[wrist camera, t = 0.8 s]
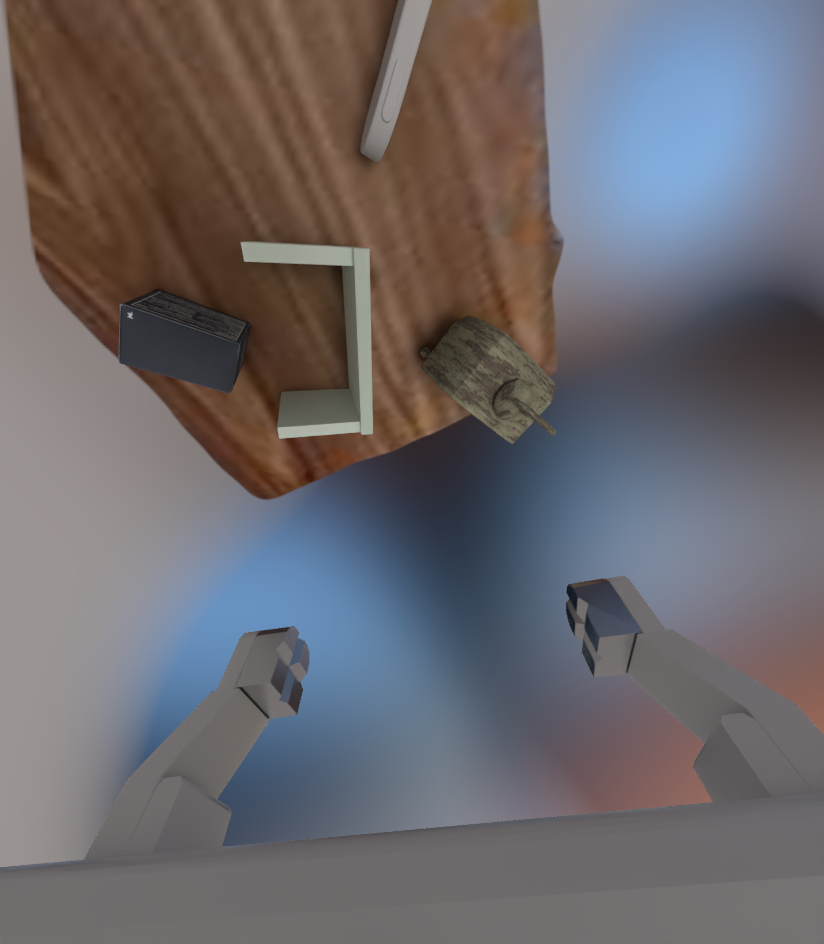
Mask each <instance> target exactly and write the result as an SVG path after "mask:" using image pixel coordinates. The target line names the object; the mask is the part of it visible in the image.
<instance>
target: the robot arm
mask: <svg viewBox="0 0 824 944" xmlns="http://www.w3.org/2000/svg"><path fill="white" fill-rule="evenodd" d="M567 595H568V597H569V600H568V601H567V602H566V613H567V618H568V622H569V625H570V627H571V630H572V632H573V634H574V636H575V637H576V638H577V639H579V640H580V641H581V642H583V645H582V654H583V656H584V658H585V660H586V662H587V664H588V666H589V668H590V671H591V673H592V674H593V677H599V676H610V675H619V674H627V676H628V677H629V678H630V679H631V680H633V681H634V682H635V683H636V684H637V685H638V686H639V687H641V688H642V689H643V690H644V691H645V692H646V693H647V694H649V695H650V696H651V697H652V698H653V699H654V700H655V701H657V702H658V703H659V704H660V705H661V706H662V707H663V708H665V709H666V710H667V711H668V712H669V713H670V714H671V715H672V716H674V717H675V718H676V719H677V720H678V721H679V722H681V723H682V724H683V725H684V726H685V727H686V728H687V729H688V730H690V731H691V732H692V733H693V734H694V735H696V736H697V737H698V738H699V739H700V740H701V741H702V742H703V743H704V746H703V748H702V749H701V751H700V753H699V754H698V756H697V758H696V760H695V762H694V765H693V768H694V770H695V771H696V773H697V775H698V777H699V778H700V780H701V782H702V784H703V785H704V787H705V789H706V791H707V792H708V794H709V796H710V797H711V799H712V801H713V802H711V803H699V804H689V805H677V806H666V807H656V808H645V809H633V810H623V811H612V812H601V813H590V814H579V815H568V816H557V817H546V818H535V819H524V820H513V821H504V822H503V821H502V822H492V823H480V824H469V825H458V826H447V827H436V828H426V829H415V830H404V831H393V832H382V833H371V834H361V835H349V836H338V837H328V838H316V839H305V840H295V841H283V842H272V843H262V844H250V845H240V846H229V847H222V843H223V840H224V837H225V834H226V830H227V827H228V823H229V820H230V817H231V814H232V813H231V810H230V808H229V807H228V806H226V805H225V804H223V803H222V802H220V801H218V800H217V798H218V796H219V795H220V794H221V792H222V790H223V789H224V787H225V786H226V785H227V783H228V782H229V780H230V779H231V777H232V776H233V774H234V773H235V771H236V770H237V768H238V767H239V765H240V764H241V762H242V761H243V759H244V758H245V756H246V755H247V753H248V752H249V751H250V749H251V748H252V746H253V745H254V743H255V741H256V740H257V739H258V737H259V736H260V734H261V733H262V731H263V730H264V728H265V727H266V725H267V724H268V722H269V719H272V718H278V717H285V716H291V715H297V713H298V709H299V704H300V700H301V696H302V692H303V688H302V685H301V683H300V681H301V680H302V679H303V678H304V676H305V675H306V674H307V671H308V666H309V650H308V646H307V644H306V643H305V641H303V640H301V639H299V638H298V634H299V632H298V630H297V629H296V628H295V627H294V626H293V627H286V628H278V629H271V630H263V631H262V630H261V631H255V632H248V633H245V634H244V635H243V636H242V637H241V638H240V639H239V642H238V644H237V646H236V648H235V651H234V653H233V655H232V657H231V660H230V662H229V664H228V666H227V669H226V671H225V673H224V675H223V678H222V680H221V682H220V685H219V687H218V689H217V691H214V692H211V693H210V694H209V695H208V696H207V697H206V698H205V699H204V700H203V701H202V702H201V704H200V705H199V706H198V707H197V708H196V709H195V710H194V711H193V712H192V713H191V714H190V715H189V716H188V717H187V718H186V719H185V720H184V721H183V722H182V723H181V724H180V725H179V726H178V728H176V730H175V731H174V732H173V733H172V734H171V735H170V736H169V737H168V738H167V739H166V740H165V741H164V742H163V743H162V744H161V745H160V746H159V747H158V748H157V749H156V750H155V751H154V752H153V753H152V754H151V756H150V757H149V758H148V759H147V760H146V761H145V762H144V763H143V764H142V765H141V766H140V767H139V768H138V769H137V770H136V771H135V772H134V773H133V774H132V775H131V776H130V777H129V778H128V779H127V781H126V783H125V784H124V787H123V788H122V790H121V792H120V794H119V796H118V797H117V799H116V801H115V803H114V805H113V807H112V809H111V810H110V812H109V814H108V816H107V818H106V820H105V821H104V823H103V825H102V827H101V829H100V831H99V833H98V835H97V836H96V838H95V840H94V842H93V844H92V845H91V847H90V849H89V851H88V853H87V855H86V857H85V858H84V860H77V861H66V862H55V863H43V864H32V865H21V866H11V867H0V944H824V735H823V733H822V732H821V731H820V730H819V729H818V728H817V727H816V726H815V725H814V723H813V722H812V721H811V720H810V719H809V718H808V717H807V716H806V715H805V713H804V712H803V711H802V710H801V709H800V708H799V707H798V706H797V705H796V704H795V703H793V702H791V701H789V700H788V699H786V698H785V697H783V696H781V695H779V694H778V693H776V692H775V691H773V690H771V689H770V688H768V687H766V686H765V685H763V684H762V683H760V682H758V681H756V680H755V679H753V678H752V677H750V676H748V675H747V674H745V673H743V672H742V671H740V670H738V669H737V668H735V667H733V666H732V665H730V664H729V663H727V662H725V661H724V660H722V659H720V658H719V657H717V656H715V655H714V654H712V653H710V652H709V651H707V650H705V649H704V648H702V647H700V646H699V645H697V644H696V643H694V642H692V641H690V640H689V639H687V638H686V637H684V636H682V635H681V634H679V633H677V632H676V631H674V630H672V629H670V630H666V629H665V628H664V626H663V625H662V624H661V623H660V621H659V620H658V618H657V617H656V615H655V614H654V613H653V611H652V610H651V609H650V607H649V606H648V605H647V603H646V602H645V601H644V599H643V598H642V596H641V595H640V594H639V592H638V591H637V590H636V588H635V587H634V585H633V584H632V583H631V581H630V580H629V579H628V578H626V577H625V576H618V577H613V578H607V579H597V580H591V581H585V582H579V583H573V584H568V586H567Z"/></svg>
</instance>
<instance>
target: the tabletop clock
mask: <svg viewBox="0 0 824 944" xmlns="http://www.w3.org/2000/svg"><path fill="white" fill-rule="evenodd" d="M420 355H421V356H422V357H424V358H427V357H428V358H427V359H426V360H425V362H424V363H423V364H422V366H421V367H422V369H423V370H424V371H425V372H426V373H427V374H428V375H429V376H430V377H431V378H432V379H433V380H434V381H435V382H436V383H437V384H438V385H439V386H440V387H441V388H442V389H443V390H444V391H445V392H446V393H447V394H448V395H449V396H450V397H451V398H453V399H454V400H455V401H456V402H458V403H459V404H460V405H461V406H463V407H464V408H465V409H466V410H468V411H469V412H470V413H471V414H473V415H474V416H475V417H477V418H478V419H479V420H480V421H482V422H483V423H484V424H486V425H487V426H488V427H490V428H491V429H492V430H494V431H495V432H497V434H499V435H500V436H501V437H503V438H504V439H506V440H507V441H509V442H510V443H511V444H513V443H514V442H515V441H516V440H517V439H518V438H519V437H520V435H522V433H523V432H524V431H525V430H526V429H527V428H528V427H529V426H530V425H531V424H532V423H533V422H536V423H537V424H538V425H539V426H541V427H543V428H544V429H545V430H546V431H547V432H549V433H550V434H551V435H555V434H556V431H555V430H554V428H553V427H552V426H551V425H550V424H549V423H547V422H546V421H545V420H544V419H543V418H542V417H541V416H540V414H541V413H542V412H543V411H544V410H545V409H546V408H547V407H548V405H549V404H550V403H551V402H552V399H553V394H554V390H555V386H556V385H555V384H554V382H552V380H551V379H550V378H549V377H548V376H547V374H546V373H545V372H544V371H543V370H542V369H541V368H540V367H539V366H538V365H537V364H536V363H535V362H534V360H533V359H532V358H531V357H530V356H529V355H528V354H527V353H526V352H525V351H524V350H523V349H522V348H521V347H520V346H519V345H518V344H517V343H516V342H515V341H514V340H513V339H512V338H510V337H509V336H508V335H507V334H506V333H504V332H503V331H501V330H500V329H498V328H496V327H494V326H492V325H490V324H488V323H486V322H484V321H482V320H480V319H477V318H475V317H472V316H467V317H465V318H462V319H460V320H458V321H456V322H454V323H453V324H452V326H451V327H450V328H449V330H448V331H447V332H446V334H445V335H444V336H443V338H442V339H441V340H440V342H439V343H438V344H437V346H436V347H435V348H434V350H433V351H432V352H431V351H430V349H429V348H428V347H423V348H421V350H420Z"/></svg>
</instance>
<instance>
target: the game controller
mask: <svg viewBox="0 0 824 944" xmlns="http://www.w3.org/2000/svg"><path fill="white" fill-rule="evenodd" d="M431 2H432V0H398V3H397V7H396V10H395V14H394V18H393V22H392V26H391V29H390V33H389V37H388V41H387V45H386V49H385V52H384V56H383V60H382V64H381V68H380V71H379V75H378V79H377V82H376V86H375V89H374V93H373V96H372V100H371V103H370V107H369V111H368V115H367V118H366V122H365V127H364V131H363V135H362V140H361V147H360V151H361V153H362V154H363V155H365V156H366V157H368V158H369V159H371V160H372V161H374V162H376V163H378V162H379V161H380V160H381V159H382V157H383V155H384V153H385V150H386V148H387V146H388V143H389V141H390V138H391V135H392V132H393V130H394V127H395V124H396V121H397V118H398V115H399V111H400V108H401V105H402V101H403V98H404V95H405V91H406V88H407V84H408V81H409V77H410V74H411V71H412V67H413V64H414V60H415V57H416V54H417V50H418V47H419V43H420V40H421V37H422V33H423V30H424V26H425V23H426V19H427V16H428V13H429V9H430V6H431Z"/></svg>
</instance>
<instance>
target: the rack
mask: <svg viewBox="0 0 824 944" xmlns="http://www.w3.org/2000/svg"><path fill="white" fill-rule="evenodd" d="M241 247H242V252H243V257H244V262H268V263H292V264H316V265H341V266H342V277H343V294H344V311H345V328H346V344H347V361H348V378H349V388H348V389H328V390H307V391H287V392H281V400H280V408H279V417H278V425H277V429H278V434H279V439H281V438H293V437H305V436H317V435H330V434H342V433H354V432H361V435H365V434H373V410H372V359H371V307H370V256H369V249H366V248H359V247H350V246H332V245H314V244H296V243H278V242H259V241H248V242H241Z"/></svg>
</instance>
